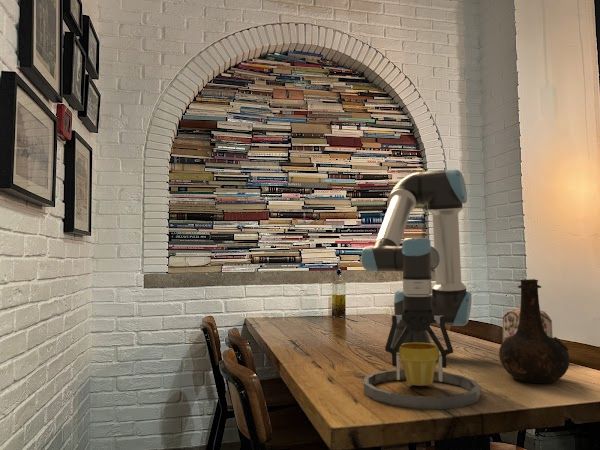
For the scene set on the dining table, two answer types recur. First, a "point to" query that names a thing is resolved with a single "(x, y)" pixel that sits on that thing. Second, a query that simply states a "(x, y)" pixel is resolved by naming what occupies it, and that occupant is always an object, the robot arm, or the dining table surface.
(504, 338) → the decorative jar
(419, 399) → the centring collar
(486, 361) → the dining table surface
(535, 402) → the dining table surface
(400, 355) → the plant pot
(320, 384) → the dining table surface
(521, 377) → the glass bottle
